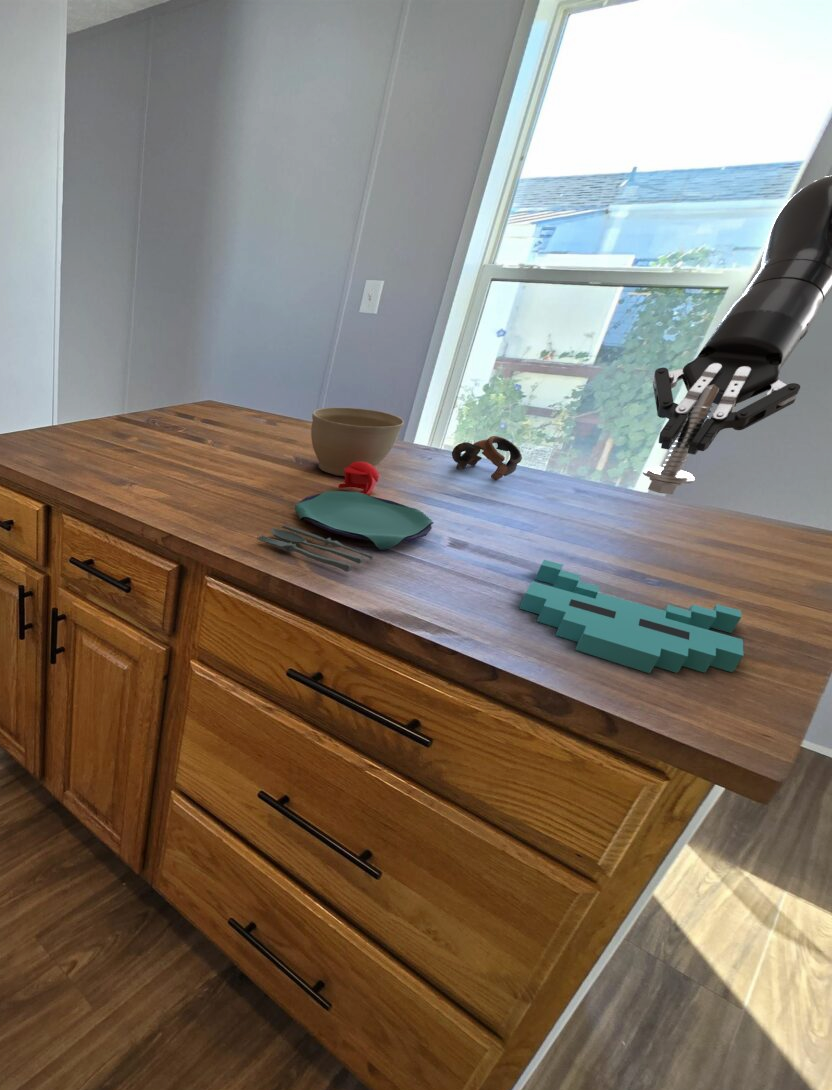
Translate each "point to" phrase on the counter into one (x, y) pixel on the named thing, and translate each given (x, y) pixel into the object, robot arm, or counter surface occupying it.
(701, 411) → the screw
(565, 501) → the counter surface
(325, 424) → the planter bowl
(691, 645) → the alien figure
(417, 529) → the cutlery set
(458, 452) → the brown looped twisted part
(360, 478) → the cap
